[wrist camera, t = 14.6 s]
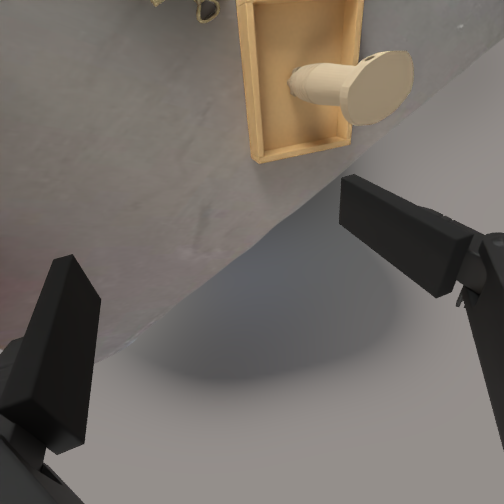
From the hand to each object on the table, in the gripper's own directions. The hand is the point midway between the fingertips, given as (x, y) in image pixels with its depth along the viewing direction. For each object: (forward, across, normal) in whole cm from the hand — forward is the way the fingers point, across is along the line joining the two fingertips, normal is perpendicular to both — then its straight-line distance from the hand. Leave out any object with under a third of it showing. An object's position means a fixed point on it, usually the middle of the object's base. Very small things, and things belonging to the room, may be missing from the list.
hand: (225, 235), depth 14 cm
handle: (+25, +17, +3) cm, 31 cm away
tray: (+26, +17, +3) cm, 31 cm away
